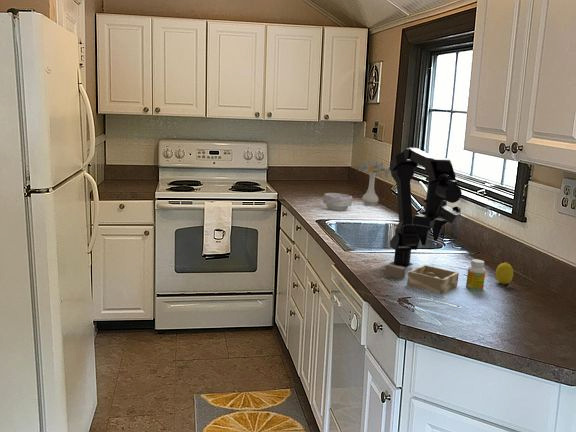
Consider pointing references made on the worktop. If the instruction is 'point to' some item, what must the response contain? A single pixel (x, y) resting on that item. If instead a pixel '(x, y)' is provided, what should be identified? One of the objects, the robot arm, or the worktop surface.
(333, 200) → the paper bowls
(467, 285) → the supplement bottle
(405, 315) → the worktop surface
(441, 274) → the box
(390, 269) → the lid
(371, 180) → the flower vase
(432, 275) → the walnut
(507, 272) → the lemon
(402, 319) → the worktop surface
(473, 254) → the worktop surface
